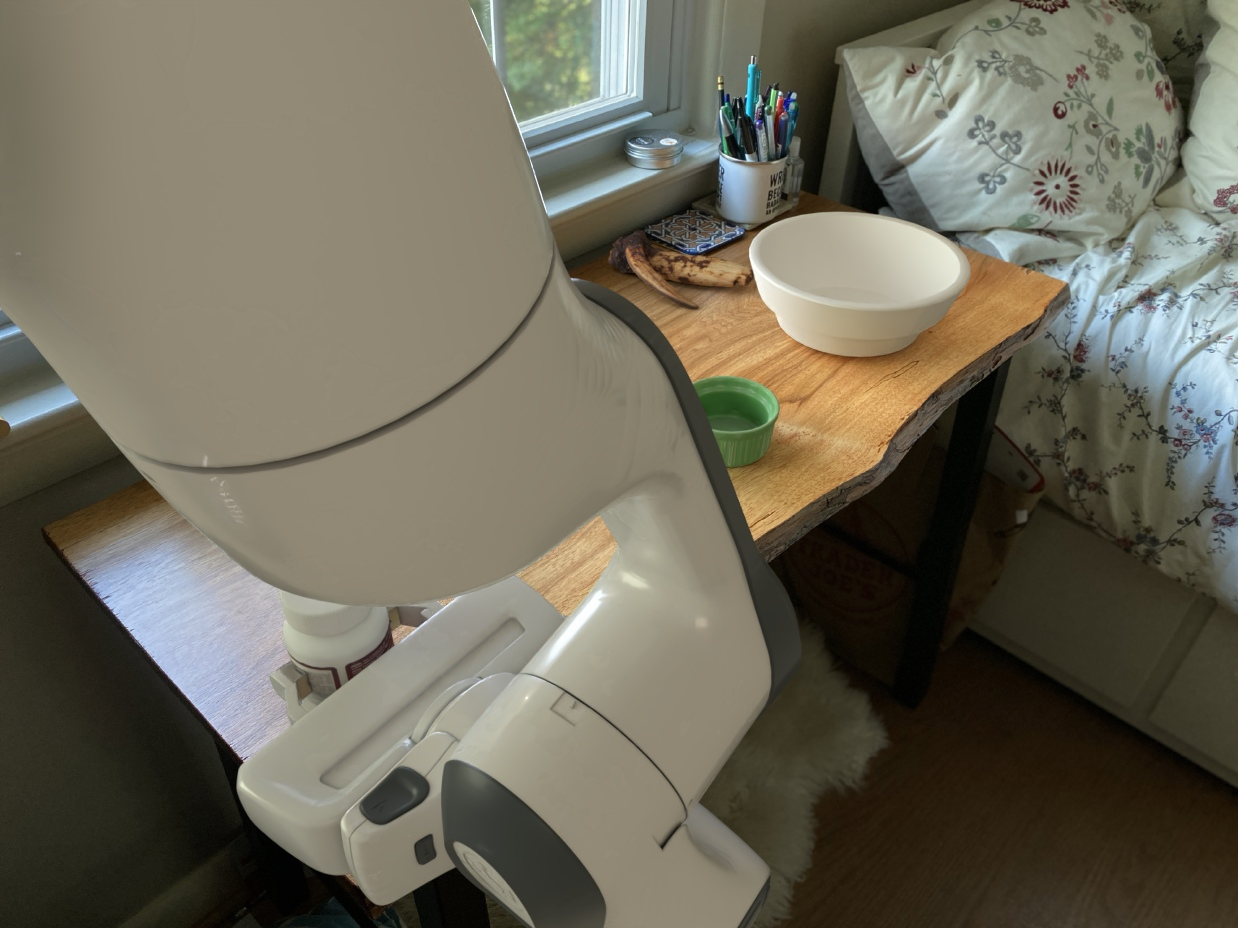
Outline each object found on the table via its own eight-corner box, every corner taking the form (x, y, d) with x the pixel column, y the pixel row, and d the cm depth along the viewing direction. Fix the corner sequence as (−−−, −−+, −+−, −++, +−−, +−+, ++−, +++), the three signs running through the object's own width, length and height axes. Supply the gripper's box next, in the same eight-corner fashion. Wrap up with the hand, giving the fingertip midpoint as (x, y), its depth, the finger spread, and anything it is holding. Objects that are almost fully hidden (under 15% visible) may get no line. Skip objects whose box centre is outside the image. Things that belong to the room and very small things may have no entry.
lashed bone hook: (587, 291, 109) (734, 319, 103) (585, 255, 106) (736, 281, 100) (620, 256, 115) (760, 280, 109) (618, 221, 112) (762, 243, 106)
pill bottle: (403, 662, 64) (379, 539, 57) (406, 736, 59) (381, 611, 52) (309, 677, 63) (273, 553, 56) (305, 754, 58) (266, 628, 51)
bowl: (873, 264, 113) (885, 198, 108) (998, 355, 97) (1020, 282, 92) (707, 299, 106) (711, 230, 101) (812, 402, 90) (823, 327, 85)
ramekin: (657, 450, 84) (658, 410, 82) (707, 403, 90) (709, 364, 87) (745, 486, 80) (750, 445, 78) (791, 434, 86) (797, 394, 83)
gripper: (611, 608, 55) (450, 512, 62) (330, 866, 43) (166, 710, 49) (612, 677, 59) (459, 580, 66) (354, 932, 46) (199, 779, 53)
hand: (331, 637), depth 57 cm, fingers closed on pill bottle, 6 cm apart
